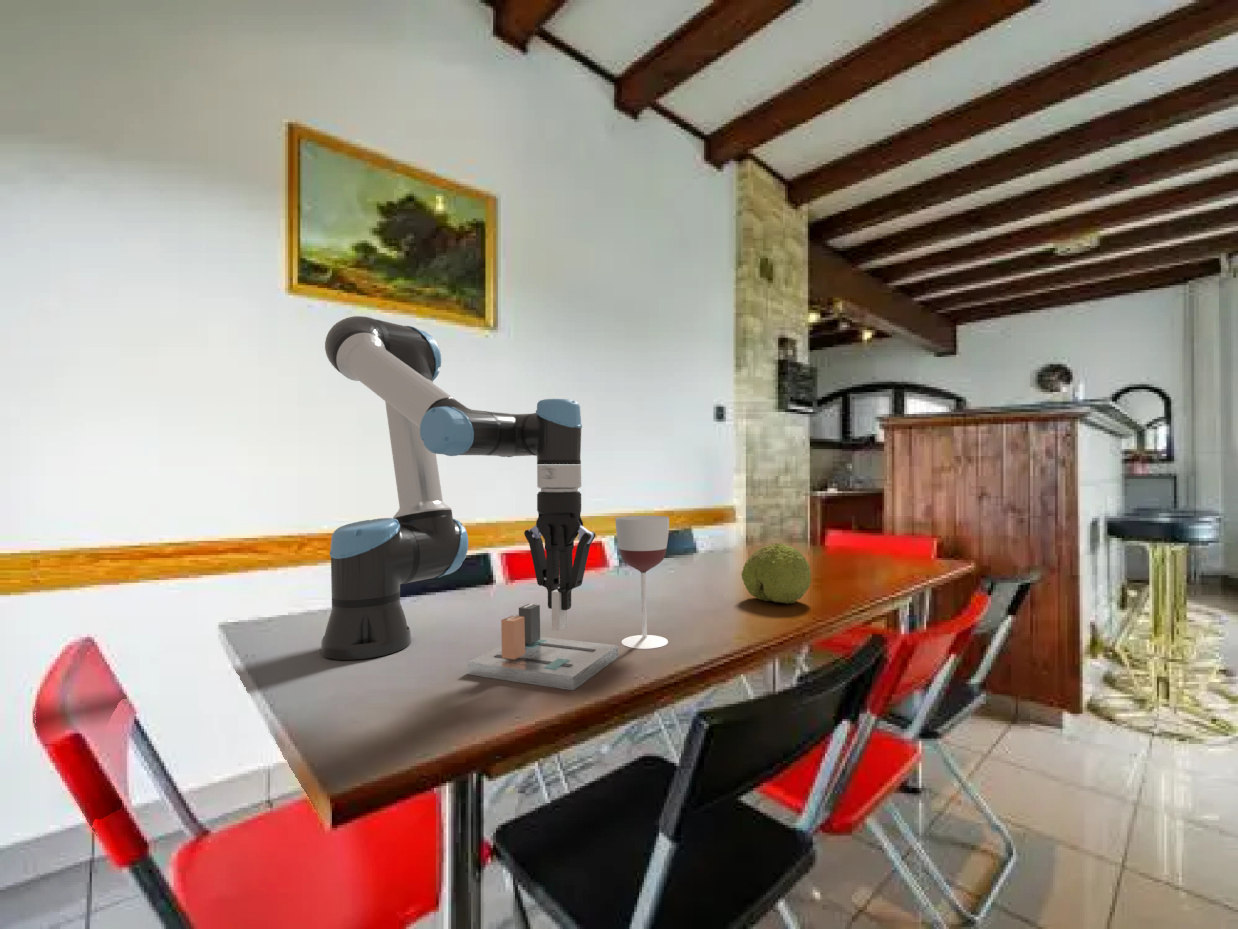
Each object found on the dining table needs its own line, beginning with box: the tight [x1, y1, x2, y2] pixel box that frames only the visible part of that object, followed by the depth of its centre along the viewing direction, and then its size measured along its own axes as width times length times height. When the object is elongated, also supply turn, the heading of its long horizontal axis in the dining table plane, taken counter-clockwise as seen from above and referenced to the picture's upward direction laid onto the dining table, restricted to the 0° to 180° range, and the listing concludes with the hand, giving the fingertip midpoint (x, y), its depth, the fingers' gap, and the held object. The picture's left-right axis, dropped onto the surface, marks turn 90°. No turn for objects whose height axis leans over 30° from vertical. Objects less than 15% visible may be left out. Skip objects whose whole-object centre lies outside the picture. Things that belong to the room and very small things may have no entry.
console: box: [466, 636, 619, 691], centre depth 95 cm, size 19×16×2 cm
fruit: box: [740, 543, 812, 605], centre depth 137 cm, size 16×14×15 cm
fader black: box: [518, 602, 541, 644], centre depth 101 cm, size 2×3×6 cm
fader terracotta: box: [500, 614, 525, 660], centre depth 92 cm, size 2×3×6 cm
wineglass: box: [615, 515, 670, 650], centre depth 107 cm, size 9×10×23 cm
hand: (559, 628), depth 98 cm, fingers closed
